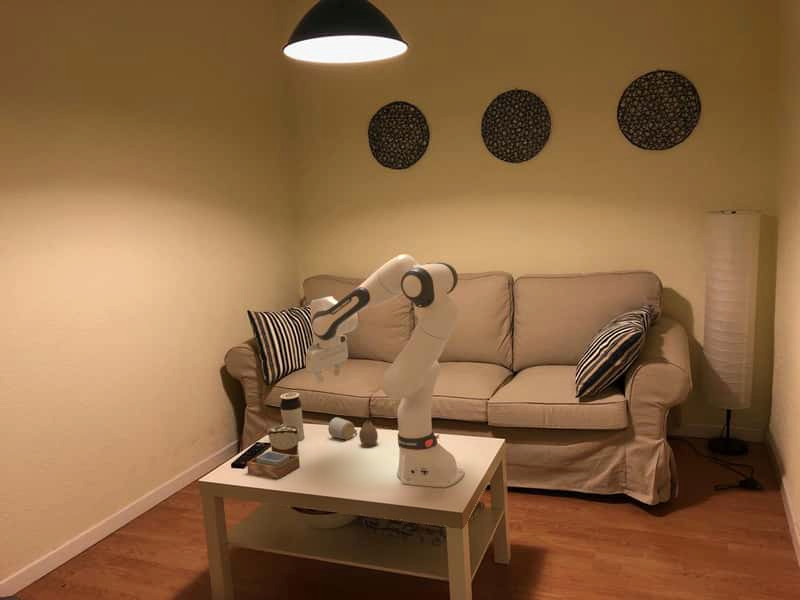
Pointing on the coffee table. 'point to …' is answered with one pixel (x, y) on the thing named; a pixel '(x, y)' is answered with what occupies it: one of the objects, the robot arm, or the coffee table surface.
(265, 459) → the small crate
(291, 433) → the food container
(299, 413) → the travel mug
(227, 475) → the coffee table surface
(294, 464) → the big crate
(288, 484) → the coffee table surface
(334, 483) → the coffee table surface
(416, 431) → the robot arm
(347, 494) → the coffee table surface
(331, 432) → the ceramic mug
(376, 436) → the vase
